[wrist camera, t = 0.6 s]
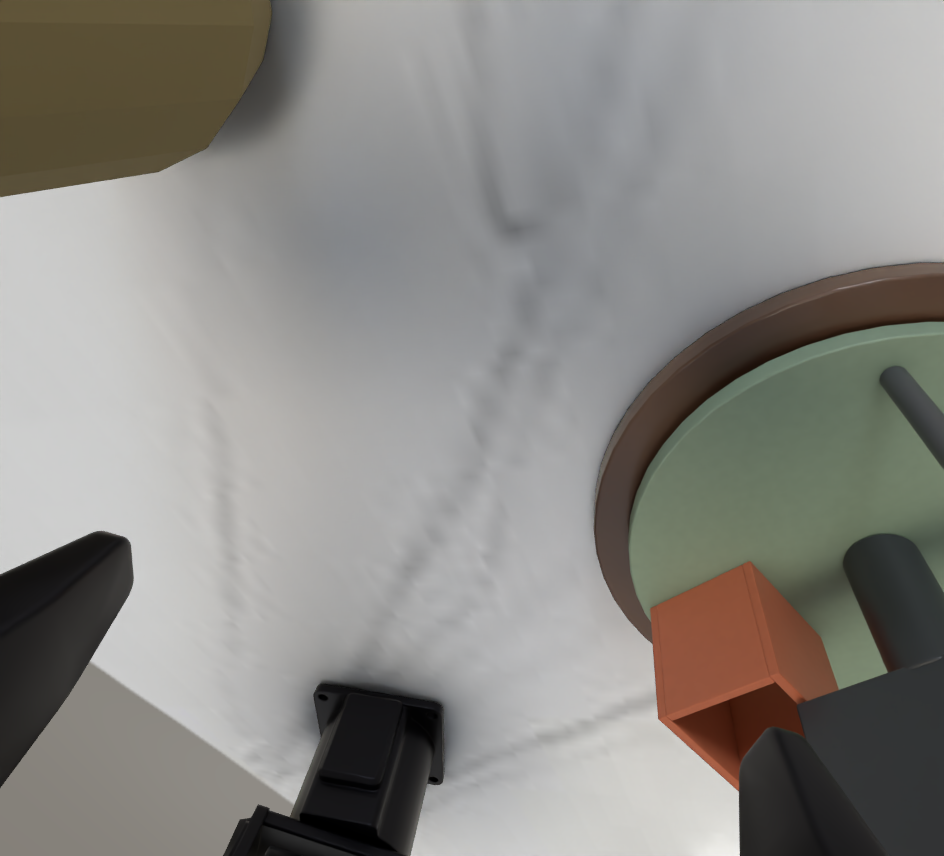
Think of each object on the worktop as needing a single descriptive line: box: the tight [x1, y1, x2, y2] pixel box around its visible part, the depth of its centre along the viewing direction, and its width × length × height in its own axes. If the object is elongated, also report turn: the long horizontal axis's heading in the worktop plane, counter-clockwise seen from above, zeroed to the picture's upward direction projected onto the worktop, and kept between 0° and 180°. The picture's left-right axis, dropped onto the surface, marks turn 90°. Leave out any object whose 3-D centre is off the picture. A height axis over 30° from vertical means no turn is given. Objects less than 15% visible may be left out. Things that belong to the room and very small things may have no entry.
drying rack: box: [628, 322, 944, 856], centre depth 17 cm, size 16×16×11 cm
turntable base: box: [594, 263, 944, 644], centre depth 22 cm, size 18×18×1 cm
